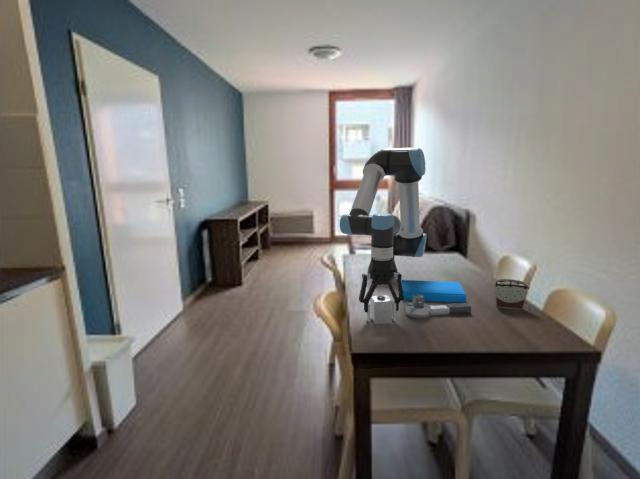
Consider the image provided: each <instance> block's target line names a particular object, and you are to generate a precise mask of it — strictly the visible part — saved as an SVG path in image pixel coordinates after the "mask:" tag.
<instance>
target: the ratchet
mask: <svg viewBox="0 0 640 479" xmlns="http://www.w3.org/2000/svg"><path fill="white" fill-rule="evenodd" d="M471 312H472V306H471V304H468V303H467V302H466V303H463V302H452V303H445V304H443V305H430V304H428V303H425V301H424V297H423V296H422V295H413V300H412V301H411V302H408V303H406V304H405V315H406V316H407V317H409V318H411V319H414V320H415V319H418V320H425V319H428V318H430V317H431V316H441V315H442V316H445V315H451V316H452V315H465V314H466V315H467V314H468V315H469V314H472V313H471Z"/></svg>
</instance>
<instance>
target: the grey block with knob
mask: <svg viewBox="0 0 640 479" xmlns="http://www.w3.org/2000/svg"><path fill="white" fill-rule="evenodd" d="M392 301H393V300H391V298H390V297H389V295H386V294H385V295H372V297H371V299H370V304H371V306H370V320H372V322H373V324H374V325H381V324H382V325H384V324H387V325H388V324H389V325H390V324H392Z"/></svg>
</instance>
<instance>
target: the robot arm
mask: <svg viewBox="0 0 640 479" xmlns="http://www.w3.org/2000/svg"><path fill="white" fill-rule="evenodd" d="M425 174H426V159H425V154H424V151H423V150H422V148H420V147H412V146H411V147H393V148H392V147H391V148H390V147H388V148H382V149H381V150H378V151H377V152H375V153H374V154H372V155H371V156H370V157H369V159H368V160H366V162H365V164H364V166H363V169H362V179H361V181H360V184H359V187H358V190H357V193H356V195H355V198H354V200H353V204H352V206H351V209H350V210H349V214H343V215H341V217H340V219H339V230H340V232H341V233H342V234H345V235H349V236H350V235H351V236H371V237H370V238H371V239H370V262H369V265H368V268H367V273H362V275H361V277H362V278H361V279H362V282H361V286H360V289H359V290H360V291H359V294H358V295H359V296H358V301H359V302H360V303H363V311H364V313H366V321H367V322H368V323H370V322H371V297H372V296H374V295H373V294H374V292H375V290H376V288H377V287H378V286H381V285H384V286H386V285H387V289H388V290H389V292H390V294H391V296H392V298H393V300H391V301H392V316H391V320H392V321H393V322H396V320H397V318H396V317H397V312H398V311H399V308H400V303H401V302H403V301H404V295H403V289H402V277H403V275H402V274H401V273H400V272H399V270H398V268H397V264H396V260H395V257H397V256H398V257H410V258H411V257H412V258H421V257H423V256H424V253H425V250H426V244H427V233H424V229H423V228H422V227H421V225H420V201H419V200H420V197H419V194H420V193H419V191H420V190H419V189H420V188H419V182H420V181H421V180H422V178H423V176H424V175H425ZM385 176H393V177H394V181H395V182H396V184H397V183H398V197H399V200H398V201H399V216H400V219H399V217H397V216H396V215H393V214H392V213H387V212H380V213H379V212H378V213H373V214H372V215H370V214H371V211H372V208H373V206H374V202H375V199H376V196H377V192H378V190H379V186H380V184H381V181H383V180H384V178H385ZM370 278H371V279H372V281H371V284H370V286H369V288H368V290H367V285H368V281H369V280H370ZM392 279H395V283H396V289H397V293H398V295H397V293H396V291H395V289H394V286H393V285H392ZM366 290H367V293H366Z"/></svg>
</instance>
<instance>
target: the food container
mask: <svg viewBox="0 0 640 479" xmlns="http://www.w3.org/2000/svg"><path fill="white" fill-rule="evenodd" d="M493 288H494V289H495V307H496V308H502V309H511V310H521V309H522V310H523V311H524V307H525V304H526V298H527V293H528V290H529V291H530V286H529V284H528V283H527V282H525V281H522V280H518V279H511V278H509V279H508V278H501V279H500V278H499V279H496V280H495V281H494V283H493Z"/></svg>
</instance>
